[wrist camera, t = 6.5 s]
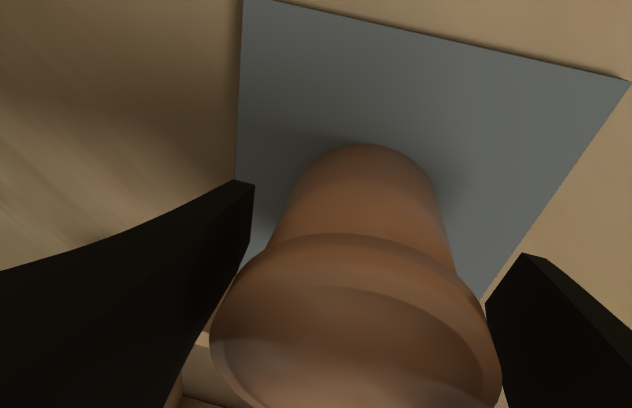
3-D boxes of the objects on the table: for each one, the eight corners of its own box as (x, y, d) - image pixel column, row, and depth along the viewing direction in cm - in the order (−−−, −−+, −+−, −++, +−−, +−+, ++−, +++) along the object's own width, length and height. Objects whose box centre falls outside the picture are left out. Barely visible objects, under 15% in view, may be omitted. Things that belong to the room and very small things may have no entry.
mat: (623, 79, 8) (633, 82, 8) (458, 319, 14) (460, 327, 14) (248, -6, 9) (243, -7, 9) (233, 259, 14) (230, 265, 14)
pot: (480, 163, 10) (577, 336, 5) (410, 287, 13) (424, 471, 8) (300, 112, 10) (215, 229, 5) (274, 247, 13) (204, 402, 8)
